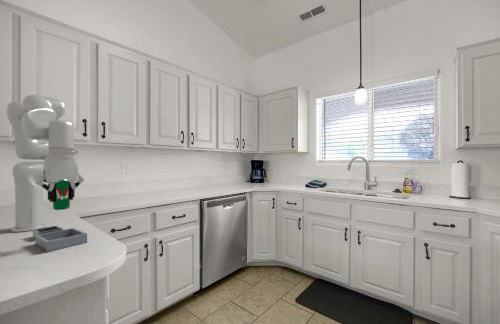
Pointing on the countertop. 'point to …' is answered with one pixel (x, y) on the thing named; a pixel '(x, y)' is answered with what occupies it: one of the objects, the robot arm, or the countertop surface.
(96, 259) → the countertop surface
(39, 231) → the pin socket
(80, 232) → the tray
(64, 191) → the soda can
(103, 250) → the countertop surface
